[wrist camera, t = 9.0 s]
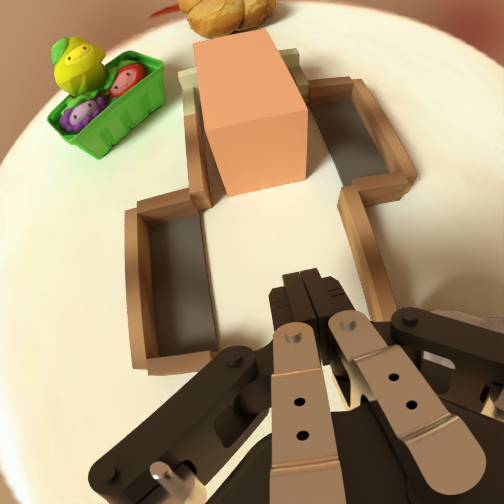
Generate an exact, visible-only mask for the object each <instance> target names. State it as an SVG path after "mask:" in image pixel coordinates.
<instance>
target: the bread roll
mask: <svg viewBox="0 0 504 504" xmlns="http://www.w3.org/2000/svg"><path fill="white" fill-rule="evenodd" d="M178 4H179V7H180V9H181V10H182V11H183V12H185V13H188V14H187V16H186V17H187V20H188V22H189V24H190V26H191V29H193V30H194V31H195V32H196V33H197V34H199V35H201V36H203V37H206V38H219V37H223V36H226V35H229V34H231V33H232V32H233V31H234V30H237V31H242V30H246V29H249V28H253V27H255V26H258V25H259V24H260V23H261V22H262V20H263V19H264V18H266V17H268V16H269V15H270V14H271V13H272V11H273V10H274V9H275V7H276V0H178Z"/></svg>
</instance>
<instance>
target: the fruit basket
mask: <svg viewBox="0 0 504 504" xmlns="http://www.w3.org/2000/svg"><path fill="white" fill-rule="evenodd" d="M105 56H106V54H105V52H104V51H103V50H102V49H101V48H100V47H98V46H97V45H94V44H92V43H89V42H86V41H85V40H84V39H83V38H81V37H76V36H75V37H70V38H65V37H64V38H62V39H61V40H59V41H58V42H57V43H55V44H54V45H53V47H52V50H51V57H52V61H53V65H55V71H54V75H55V80H56V83H57V84H58V86H59V87H60V88H62V89H63V90H65V91H66V92H68V93H69V95H68V96H67V97H66V98H65V99H64V100H63V101H62V102H61V103H60V104H59V105H58V106H57V107H56V108H55V109H53V111H52V112H51V113H50V114H49V115H48V117H47V121H48V123H49V124H50V125H51V126H52V127H53V128H54V129H55V130H56V131H57V132H58V133H59V134H60V136H61V137H62V138H63V139H64V140H65V141H66V142H68V143H70V144H72V145H76V146H77V147H79V148H80V149H82V150H84V151H85V152H87V153H88V154H90V155H91V156H93V157H95V158H96V159H101V158H102V157H103V156H104V155H105V154H106V153H107V152H108V151H109V150H110V149H111V148H112V145H115V144H116V143H118V142H119V141H120V140H121V139H122V138H123V137H125V136H126V135H127V134H128V133H129V131H130V130H131V129H133V128H134V127H136V126H137V125H138V124H139V123H141V122H142V121H143V120H144V119H145V118H146V117H147V116H148V115H149V113H152V112H153V111H155V110H156V109H157V108H159V107H160V106H161V105H162V104H164V93H163V77H162V73H163V62H162V61H161V60H158V59H155V58H152V57H149V56H146V55H143V54H140V53H137V52H134V51H126V52H124V53H122V54H120V55H119V56H117V57H116V58H115V59H113V60H112V61H110V62H109V63H107V64H106V65H105V66H104V65H103V64H102V63H101V62H102V60H103V59H104V58H105Z"/></svg>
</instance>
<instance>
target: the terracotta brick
mask: <svg viewBox="0 0 504 504" xmlns="http://www.w3.org/2000/svg"><path fill="white" fill-rule="evenodd" d="M193 48H194V56H195V63H196V71H197V78H198V86H199V93H200V100H201V107H202V114H203V121H204V128H205V133H206V136H207V138H208V141H209V144H210V147H211V150H212V153H213V156H214V158H215V161H216V164H217V167H218V170H219V173H220V175H221V178H222V181H223V184H224V187H225V190H226V192H227V195H228V197H231V196H235V195H240V194H244V193H248V192H253V191H257V190H262V189H266V188H271V187H275V186H280V185H285V184H289V183H294V182H299V181H304V180H306V159H307V131H308V109H307V107H306V105H305V103H304V100H303V98H302V96H301V94H300V92H299V90H298V88H297V86H296V84H295V82H294V80H293V78H292V76H291V74H290V72H289V71H288V69H287V67H286V65H285V63H284V61H283V59H282V57H281V55H280V54H279V52H278V50H277V48H276V46H275V44H274V43H273V41H272V39H271V37H270V36H269V34H268V32H267V30H266V29H260V30H254V31H249V32H243V33H238V34H233V35H228V36H223V37H219V38H214V39H210V40H206V41H202V42H198V43H194V44H193Z"/></svg>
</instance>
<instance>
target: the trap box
mask: <svg viewBox="0 0 504 504" xmlns="http://www.w3.org/2000/svg"><path fill="white" fill-rule="evenodd" d="M289 72H290V74H291V76H292V78H293V80H294V82H295V84H296V86H297V88H298V90H299V92H300V94H301V96H302V98H303V100H304V103H305V105H306V104H309V106H310V108H311V110H312V112H313V115H314V117H315V119H316V121H317V123H318V126H319V128H320V130H321V133H322V135H323V137H324V140H325V142H326V144H327V147H328V149H329V151H330V154H331V156H332V159H333V161H334V164H335V166H336V169H337V171H338V174H339V176H340V179H341V181H342V184H343V187H341V191H340V196H339V200H338V204H337V207H338V210H339V213H340V216H341V219H342V222H343V225H344V228H345V231H346V234H347V237H348V241H349V244H350V247H351V250H352V254H353V257H354V260H355V264H356V267H357V270H358V274H359V277H360V281H361V284H362V288H363V291H364V295H365V299H366V303H367V306H368V310H369V314H370V318H371V321H374V322H383V321H391V317H392V315H393V313H394V312H396V311H397V308H396V304H395V301H394V297H393V294H392V290H391V287H390V283H389V280H388V277H387V273H386V270H385V267H384V264H383V261H382V258H381V254H380V251H379V248H378V245H377V242H376V239H375V237H374V234H373V231H372V228H371V225H370V222H369V220H368V217H367V214H366V211H365V209H364V207H366V206H371V205H376V204H382V203H387V202H392V201H397V200H400V198H401V196H402V194H403V193H408V191H409V189H410V187H411V186H412V184H413V182H414V180H415V178H416V176H417V173H416V171H415V169H414V167H413V165H412V163H411V161H410V159H409V157H408V155H407V153H406V152H405V150H404V148H403V146H402V144H401V142H400V141H399V139H398V137H397V135H396V133H395V132H394V130H393V128H392V126H391V125H390V123H389V121H388V120H387V118H386V116H385V115H384V113H383V111H382V110H381V108H380V107H379V105H378V103H377V102H376V100H375V99H374V97H373V96H372V94H371V92H370V91H369V89H368V88H367V86H366V85H365V83H364V82H363V81H362V79H354V80H351V78H350V77H337V78H327V79H318V80H309V81H307V79H306V77H305V75H304V73H303V72H302V70H301V68H300V66H295V67H289ZM182 91H183V111H184V127H185V142H186V156H187V168H188V180H189V188H186V189H182V190H178V191H174V192H170V193H166V194H163V195H159V196H155V197H152V198H148V199H144V200H141V201H137V208H133V209H130V210H126V211H125V280H126V300H127V315H128V328H129V339H130V349H131V358H132V366H133V369H145V370H148V375H155V376H165V375H174V374H183V373H191V372H198V371H200V370H201V369H202V368H203V367H205V366H206V365H207V364H208V363H209V362H210V361H211V360H212V359H213V358H214V357H215V356H216V355H217V354H218V353H219V350H218V344H217V337H216V331H215V325H214V318H213V312H212V305H211V298H210V291H209V284H208V277H207V270H206V262H205V255H204V247H203V239H202V231H201V223H200V214H199V211H200V210H205V209H209V208H212V205H211V197H210V190H209V182H208V175H207V167H206V159H205V151H204V142H203V134H202V126H201V117H200V108H199V103H198V100H197V97H196V94H195V91H194V88H193V87H189V88H185V89H182Z"/></svg>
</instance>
